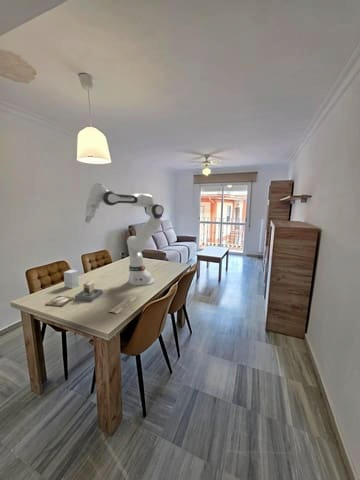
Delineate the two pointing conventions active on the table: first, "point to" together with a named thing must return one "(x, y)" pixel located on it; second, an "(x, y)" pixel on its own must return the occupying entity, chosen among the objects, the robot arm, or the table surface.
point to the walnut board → (60, 301)
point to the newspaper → (123, 304)
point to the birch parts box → (88, 288)
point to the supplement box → (71, 278)
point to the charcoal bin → (88, 298)
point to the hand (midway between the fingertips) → (87, 222)
